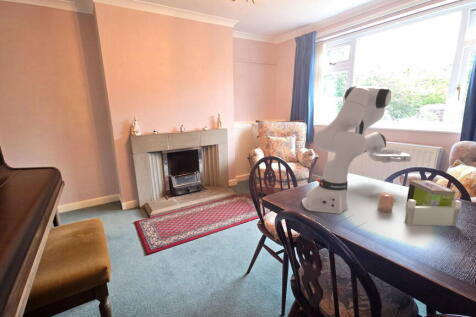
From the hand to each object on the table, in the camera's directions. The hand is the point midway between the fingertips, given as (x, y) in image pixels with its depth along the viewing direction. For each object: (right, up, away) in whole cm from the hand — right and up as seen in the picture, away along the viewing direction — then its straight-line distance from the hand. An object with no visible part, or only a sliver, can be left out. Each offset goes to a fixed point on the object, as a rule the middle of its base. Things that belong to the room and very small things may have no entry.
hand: (398, 160), depth 127 cm
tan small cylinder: (-17, -24, -14) cm, 33 cm away
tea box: (0, -26, -19) cm, 32 cm away
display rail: (-6, -28, -28) cm, 40 cm away
